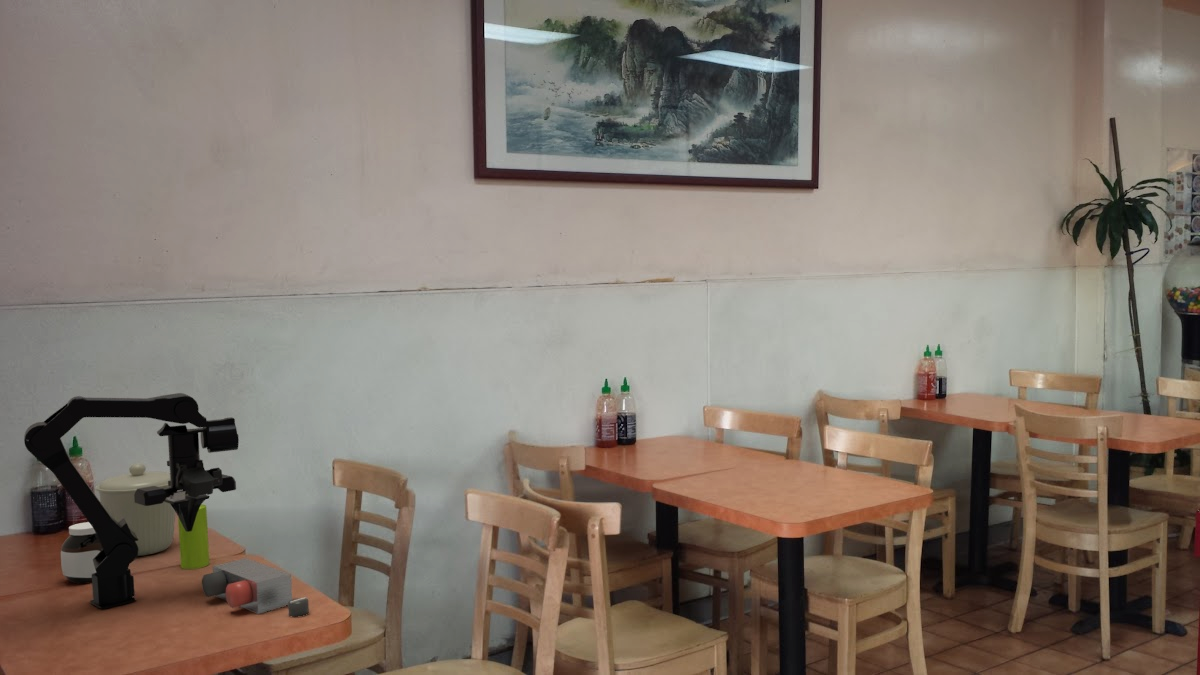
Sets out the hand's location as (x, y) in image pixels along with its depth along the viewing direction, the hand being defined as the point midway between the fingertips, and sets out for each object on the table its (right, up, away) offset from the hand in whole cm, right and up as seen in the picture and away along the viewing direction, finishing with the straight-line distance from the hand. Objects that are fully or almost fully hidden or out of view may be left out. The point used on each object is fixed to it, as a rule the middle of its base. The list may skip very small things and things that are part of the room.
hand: (188, 531), depth 203 cm
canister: (-24, -11, +33) cm, 42 cm away
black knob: (+12, -11, -5) cm, 17 cm away
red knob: (+19, -11, -12) cm, 25 cm away
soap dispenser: (-6, -11, +18) cm, 22 cm away
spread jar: (-27, -13, +13) cm, 32 cm away
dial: (+28, -12, -17) cm, 35 cm away
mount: (+16, -12, -8) cm, 21 cm away
